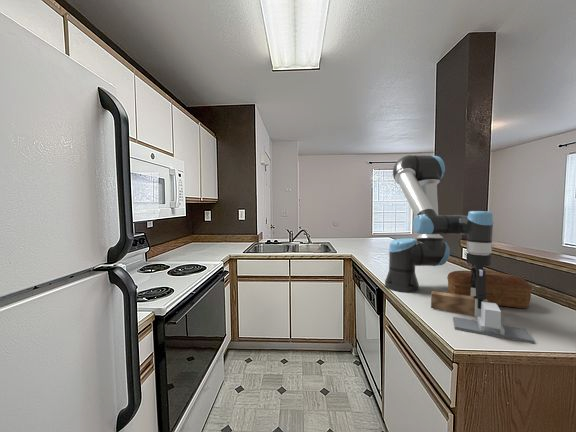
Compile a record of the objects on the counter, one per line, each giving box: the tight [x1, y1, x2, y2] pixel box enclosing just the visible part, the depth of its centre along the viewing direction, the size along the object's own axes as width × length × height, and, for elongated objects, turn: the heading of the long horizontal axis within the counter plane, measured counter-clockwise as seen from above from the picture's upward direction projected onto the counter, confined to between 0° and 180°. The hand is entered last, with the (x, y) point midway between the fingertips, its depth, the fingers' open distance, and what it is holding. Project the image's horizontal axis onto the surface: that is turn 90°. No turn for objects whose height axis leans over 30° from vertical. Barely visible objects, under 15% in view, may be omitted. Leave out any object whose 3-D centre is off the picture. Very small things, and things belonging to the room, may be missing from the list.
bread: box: [446, 270, 532, 309], centre depth 117 cm, size 14×28×12 cm, turn 71°
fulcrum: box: [452, 301, 536, 344], centre depth 90 cm, size 20×9×8 cm, turn 63°
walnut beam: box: [430, 290, 488, 316], centre depth 107 cm, size 18×4×6 cm, turn 62°
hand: (476, 310), depth 104 cm, fingers open, 13 cm apart
